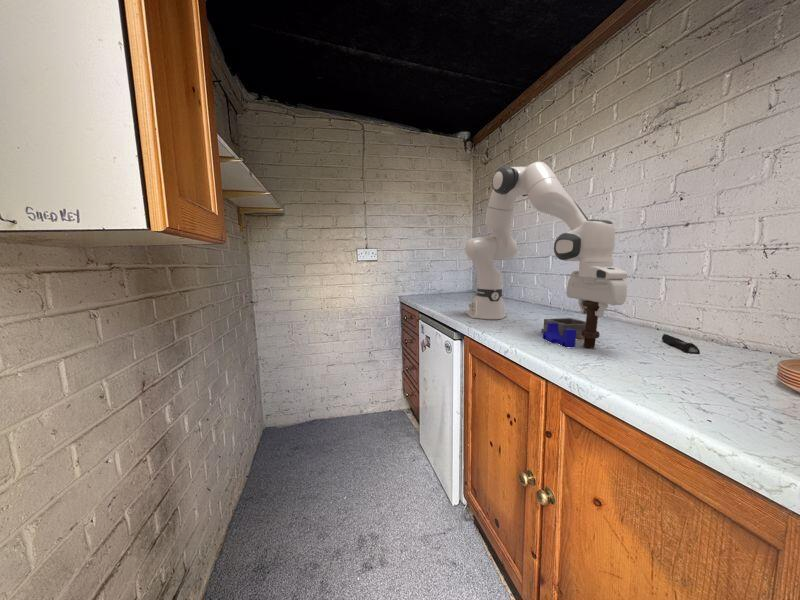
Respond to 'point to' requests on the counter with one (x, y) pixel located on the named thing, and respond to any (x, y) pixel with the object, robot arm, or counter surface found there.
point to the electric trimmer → (681, 344)
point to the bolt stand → (567, 325)
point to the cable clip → (555, 337)
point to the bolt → (590, 324)
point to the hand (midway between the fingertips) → (591, 315)
